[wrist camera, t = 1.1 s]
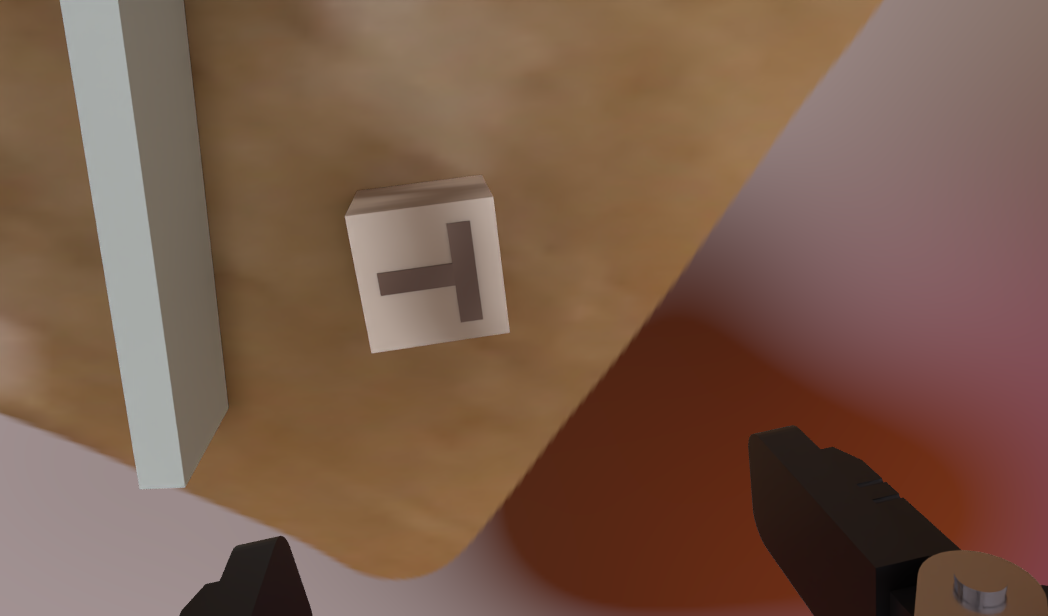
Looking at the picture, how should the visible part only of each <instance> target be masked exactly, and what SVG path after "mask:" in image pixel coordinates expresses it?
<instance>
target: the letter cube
mask: <svg viewBox="0 0 1048 616" xmlns="http://www.w3.org/2000/svg"><path fill="white" fill-rule="evenodd" d="M345 220H346V225H347V230H348V236H349V241H350V246H351V251H352V256H353V261H354V266H355V271H356V276H357V281H358V287H359V292H360V297H361V302H362V307H363V312H364V317H365V322H366V327H367V332H368V338H369V343H370V348H371V353H377V352H384V351H391V350H397V349H404V348H411V347H417V346H424V345H431V344H437V343H444V342H451V341H457V340H464V339H470V338H477V337H484V336H490V335H497V334H504V333H510V330H509V321H508V313H507V305H506V297H505V289H504V280H503V272H502V264H501V256H500V247H499V239H498V231H497V223H496V215H495V206H494V198H493V195H492V193H491V191H490V189H489V188H488V186H487V184H486V182H485V180H484V178H483V176H482V175H475V176H467V177H460V178H452V179H444V180H436V181H428V182H421V183H413V184H405V185H397V186H390V187H382V188H374V189H366V190H359V191H357V192H356V194H355V196H354V198H353V200H352V202H351V204H350V207H349V209H348V211H347V213H346V215H345Z"/></svg>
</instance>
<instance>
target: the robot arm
mask: <svg viewBox="0 0 1048 616" xmlns="http://www.w3.org/2000/svg"><path fill="white" fill-rule="evenodd" d="M748 445H749V446H748V448H749V462H750V476H751V490H752V503H753V513H754V518H755V522H756V526H757V529H758V531H759V534H760V537H761V539H762V541H763V543H764V545H765V546H766V548H767V549H768V551H769V552H770V554H771V555H772V556H773V558H774V559H775V561H776V562H777V564H778V565H779V567H780V568H781V569H782V571H783V572H784V574H785V575H786V576H787V578H788V579H789V581H790V582H791V584H792V585H793V587H794V588H795V589H796V591H797V592H798V594H799V595H800V597H801V598H802V599H803V601H804V602H805V603H806V605H807V606H808V608H809V609H810V611H811V612H812V614H813V615H814V616H1048V586H1045V585H1040V584H1039V583H1038V582H1037V581H1036V579H1035V578H1034V577H1032V576H1031V575H1030V574H1029V573H1028V572H1026V571H1025V570H1023V569H1022V568H1020V567H1019V566H1017V565H1015V564H1013V563H1011V562H1009V561H1007V560H1005V559H1002V558H1000V557H996V556H993V555H990V554H986V553H981V552H975V551H964V550H961V549H959V548H958V547H957V546H956V545H955V544H954V543H953V542H952V541H951V540H950V539H948V538H947V537H946V536H945V535H944V534H943V533H942V532H941V531H939V530H938V529H937V528H936V527H935V526H934V525H933V524H932V523H931V522H929V521H928V520H927V519H926V518H925V517H924V516H923V515H922V514H921V513H920V512H919V511H917V510H916V509H915V508H914V507H913V506H912V505H911V504H910V503H909V502H908V501H906V500H905V499H904V498H900V497H899V493H898V492H897V491H895V490H894V489H893V488H892V487H891V486H890V485H888V483H887V482H883V481H882V478H881V477H880V476H879V475H878V474H877V473H875V472H874V471H873V470H872V469H871V468H870V467H869V466H868V465H866V463H864V462H863V461H862V460H860V459H858V458H856V457H854V456H852V455H850V454H847V453H845V452H843V451H841V450H839V449H836V448H834V447H830V448H825V449H820V448H819V447H818V446H816V445H815V444H814V443H813V442H812V441H811V440H810V439H809V438H808V437H807V436H806V435H805V434H804V433H803V432H802V431H801V430H800V429H799V428H798V427H796V426H787V427H783V428H778V429H774V430H770V431H765V432H761V433H755V434H752V435H751V436H750V438H749V443H748ZM180 616H312V611H311V608H310V604H309V601H308V598H307V596H306V593H305V590H304V587H303V584H302V581H301V578H300V575H299V573H298V569H297V566H296V563H295V561H294V557H293V554H292V552H291V549H290V546H289V544H288V542H287V540H286V539H285V538H284V537H283V536H279V537H274V538H269V539H265V540H260V541H256V542H251V543H247V544H242V545H238V546H236V547H235V548H234V549H233V551H232V553H231V555H230V558H229V560H228V562H227V565H226V567H225V570H224V572H223V575H222V577H221V579H220V581H218V582H214V583H209V584H205V585H204V587H203V588H202V589H201V590H200V591H199V592H198V593H197V594H196V595H195V596H194V598H193V599H192V600H191V601H190V602H189V603H188V604H187V605H186V606H185V607H184V609H183V610H182V611H181V613H180Z"/></svg>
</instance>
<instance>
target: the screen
mask: <svg viewBox="0 0 1048 616" xmlns="http://www.w3.org/2000/svg"><path fill="white" fill-rule="evenodd" d="M60 4H61V10H62V16H63V22H64V28H65V34H66V41H67V47H68V53H69V59H70V65H71V71H72V77H73V84H74V90H75V96H76V102H77V108H78V114H79V120H80V127H81V133H82V139H83V145H84V151H85V157H86V163H87V170H88V176H89V182H90V188H91V194H92V200H93V206H94V213H95V219H96V225H97V231H98V237H99V243H100V249H101V256H102V262H103V268H104V274H105V280H106V286H107V292H108V299H109V305H110V311H111V317H112V323H113V329H114V335H115V342H116V348H117V354H118V360H119V366H120V372H121V378H122V385H123V391H124V397H125V403H126V409H127V415H128V421H129V428H130V434H131V440H132V446H133V452H134V458H135V464H136V471H137V477H138V483H139V489H160V488H184V487H186V485H187V483H188V481H189V480H190V478H191V476H192V474H193V472H194V470H195V469H196V467H197V465H198V463H199V461H200V460H201V458H202V456H203V454H204V452H205V450H206V449H207V447H208V445H209V443H210V441H211V440H212V438H213V436H214V434H215V432H216V430H217V429H218V427H219V425H220V423H221V421H222V419H223V418H224V416H225V414H226V412H227V410H228V409H229V407H228V398H227V389H226V380H225V371H224V362H223V353H222V344H221V335H220V325H219V316H218V307H217V298H216V289H215V280H214V271H213V262H212V253H211V244H210V235H209V226H208V217H207V207H206V198H205V189H204V180H203V171H202V162H201V153H200V144H199V135H198V126H197V117H196V108H195V99H194V89H193V80H192V71H191V62H190V53H189V44H188V35H187V26H186V17H185V8H184V0H60Z"/></svg>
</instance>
